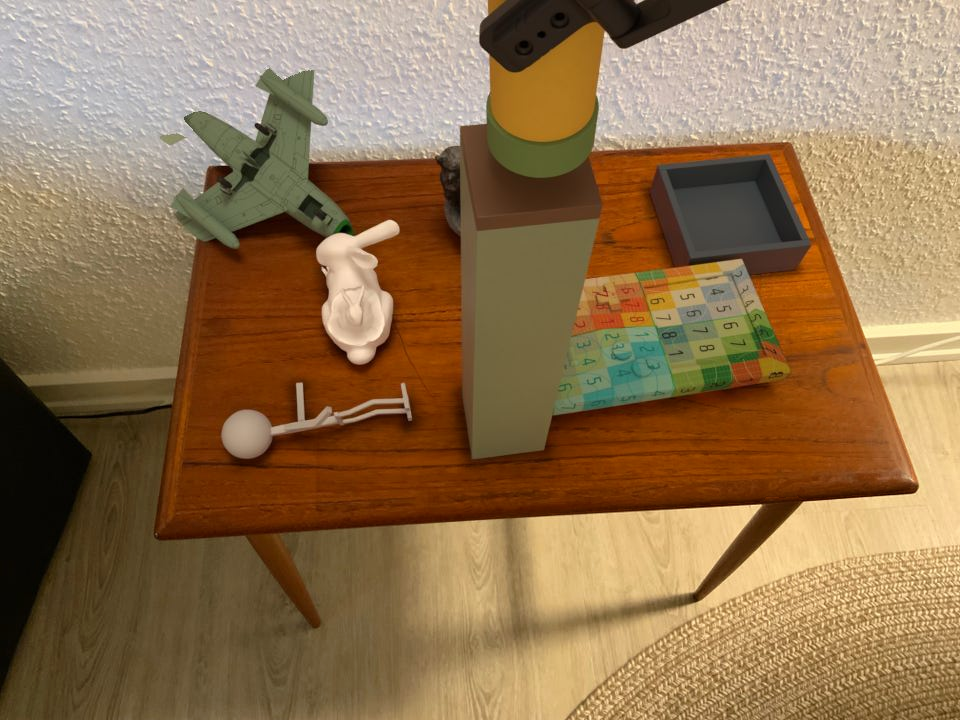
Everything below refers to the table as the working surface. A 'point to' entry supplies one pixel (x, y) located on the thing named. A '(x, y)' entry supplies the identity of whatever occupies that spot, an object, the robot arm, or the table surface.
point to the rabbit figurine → (356, 292)
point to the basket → (729, 214)
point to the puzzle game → (667, 337)
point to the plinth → (518, 292)
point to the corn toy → (546, 106)
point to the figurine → (292, 424)
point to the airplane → (261, 168)
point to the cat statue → (451, 185)
